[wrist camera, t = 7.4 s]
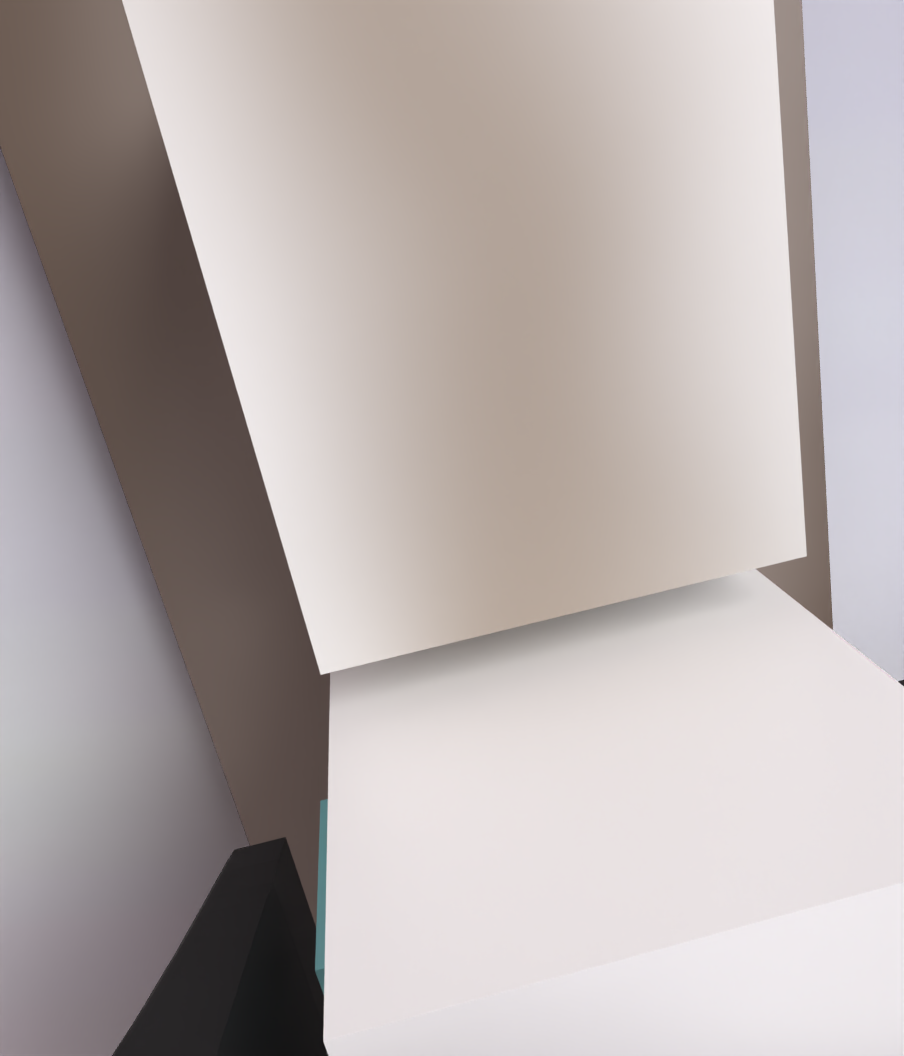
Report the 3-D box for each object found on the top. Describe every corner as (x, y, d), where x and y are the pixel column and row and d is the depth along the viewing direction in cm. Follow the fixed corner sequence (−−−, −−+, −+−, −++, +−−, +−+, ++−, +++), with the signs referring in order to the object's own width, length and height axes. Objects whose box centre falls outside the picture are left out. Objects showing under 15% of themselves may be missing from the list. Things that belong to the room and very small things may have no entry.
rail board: (726, -257, 11) (1091, -722, 6) (818, 1052, 19) (1001, 1361, 14) (-50, -109, 10) (-450, -470, 5) (389, 1170, 19) (409, 1538, 13)
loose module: (675, 506, 12) (1086, 831, 5) (708, 764, 13) (1059, 1263, 7) (317, 594, 12) (291, 1048, 5) (392, 847, 13) (445, 1448, 7)
